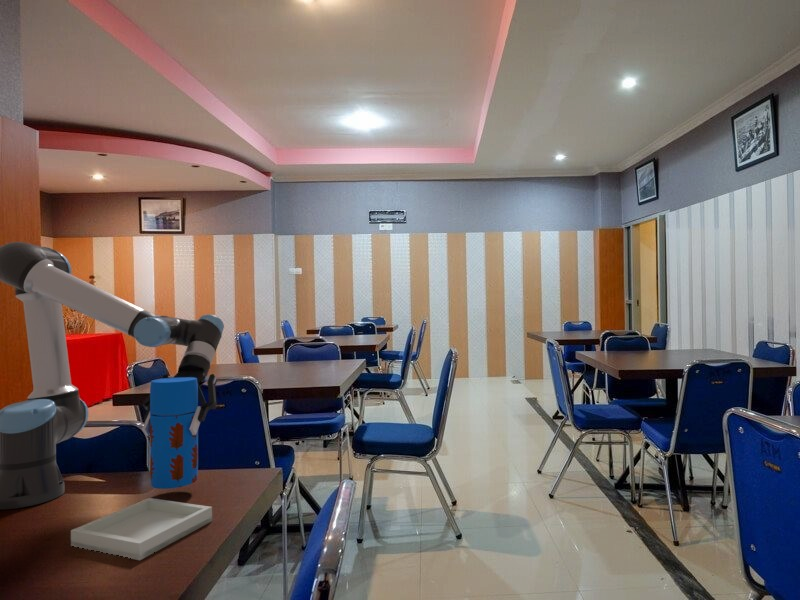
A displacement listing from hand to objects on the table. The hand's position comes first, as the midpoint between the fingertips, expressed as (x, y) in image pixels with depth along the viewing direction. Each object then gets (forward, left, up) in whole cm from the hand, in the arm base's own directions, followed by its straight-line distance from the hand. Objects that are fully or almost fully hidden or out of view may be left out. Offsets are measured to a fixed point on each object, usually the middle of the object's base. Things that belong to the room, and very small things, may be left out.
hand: (168, 432), depth 121 cm
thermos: (-1, +3, -13) cm, 13 cm away
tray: (+11, -17, -16) cm, 25 cm away
